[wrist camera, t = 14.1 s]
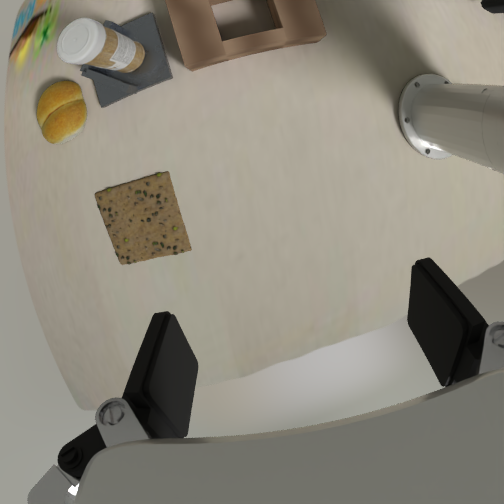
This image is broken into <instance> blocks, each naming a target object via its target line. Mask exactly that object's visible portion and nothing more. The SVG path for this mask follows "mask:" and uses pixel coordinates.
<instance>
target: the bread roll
mask: <svg viewBox="0 0 504 504" xmlns="http://www.w3.org/2000/svg"><path fill="white" fill-rule="evenodd" d="M86 118H87V109H86V104H85V102H84V99H83V96H82V91H81V88H80V86H79V85H78V84H76V83H74V82H71V81H61V82H57V83H55V84H53V85H51V86H50V87H48V88H47V89H46V90H45V91H44V92H43V94H42V95H41V97H40V100H39V103H38V107H37V120H38V123H39V125H40V127H41V129H42V134H43V136H44V138H45V139H46V140H47V141H48V142H50V143H52V144H63V143H65V142H67V141H69V140H71V139H73V138H74V137H76V136H77V135H78V134H80V133H81V132H82V131H83V129H84V125H85V122H86Z"/></svg>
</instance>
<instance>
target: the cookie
mask: <svg viewBox="0 0 504 504" xmlns="http://www.w3.org/2000/svg"><path fill="white" fill-rule="evenodd" d="M95 198H96V201H97V203H98V208H99V210H100V212H101V215H102V217H103V220H104V223H105V226H106V228H107V231H108V233H109V236H110V238H111V241H112V243H113V247H114V249H115V251H116V255H117V256H118V259H119V262H120V263H121V264H122V265H123V264H131V263H136V262H139V261H145V260H149V259H153V258H156V257H162V256H168V255H177V254H178V253H182V252H183V253H184V252H186V251H191V250H192V249H191V246H190V242H189V239H188V235H187V232H186V229H185V225H184V223H183V220H182V216H181V213H180V210H179V206H178V203H177V199H176V196H175V193H174V189H173V185H172V182H171V179H170V174H169V172H168V171H167V172H163V173H157V174H155V175H151V176H147V177H144V178H142V179H138V180H134V181H131V182H128V183H124V184H121V185H118V186H116V187H112V188H108V189H106V190H103V191H99V192H97V193H96V194H95Z"/></svg>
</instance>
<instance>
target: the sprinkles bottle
mask: <svg viewBox="0 0 504 504" xmlns="http://www.w3.org/2000/svg"><path fill="white" fill-rule="evenodd" d="M57 53H58V56H59V58H60V59H61V60H62V61H64V62H66V63H70V64H77V65H81V64H88V65H92V66H95V67H100V68H105V69H110V70H117V71H119V72H121V73H128V72H132V71H134V70H135V69H137V68H138V67H139V66H140V65H141V64H142V62H143V59H144V56H145V50H144V48H143V46H142V45H141V44H140V43H139V42H137V41H133V40H131V39H130V38H128V37H126V36H124V35H122V34H120V33H118V32H116V31H114V30H112V29H109V28H106V27H104V26H103V25H102V24H101V23H100V22H98V21H96V20H93V19H90V18H79V19H76V20H74V21H72V22H71V23H70V24H68V25H67V26H66V27H65V28H64V30H63V31H62V32H61V34H60V36H59V39H58V42H57Z"/></svg>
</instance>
